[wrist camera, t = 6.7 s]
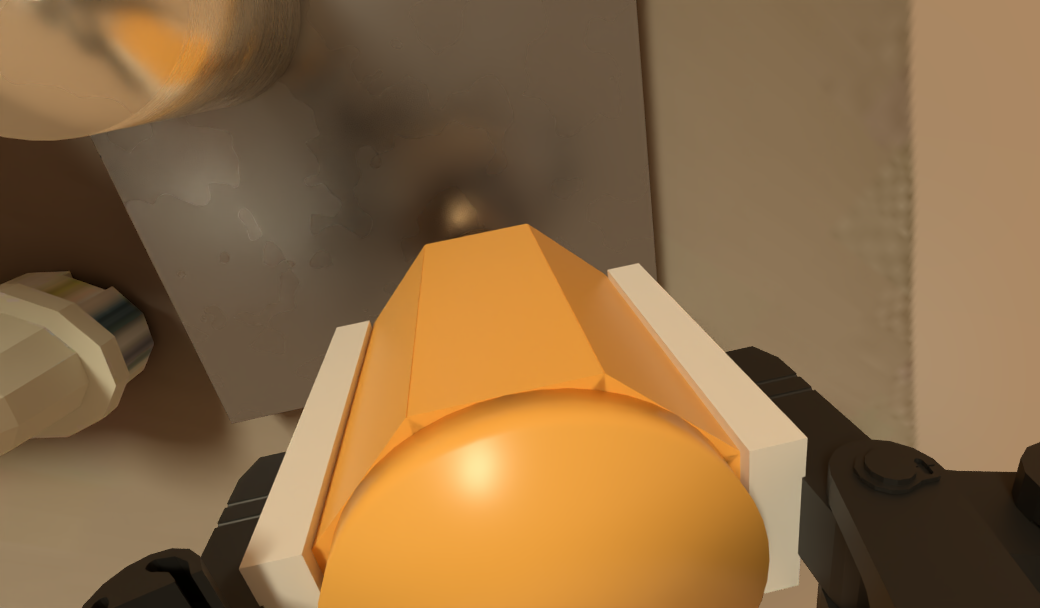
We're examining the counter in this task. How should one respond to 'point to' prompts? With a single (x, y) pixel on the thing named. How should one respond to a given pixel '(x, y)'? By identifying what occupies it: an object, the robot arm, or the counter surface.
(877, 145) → the counter surface
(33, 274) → the white handheld device
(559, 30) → the grey slab with post
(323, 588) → the orange acorn nut
